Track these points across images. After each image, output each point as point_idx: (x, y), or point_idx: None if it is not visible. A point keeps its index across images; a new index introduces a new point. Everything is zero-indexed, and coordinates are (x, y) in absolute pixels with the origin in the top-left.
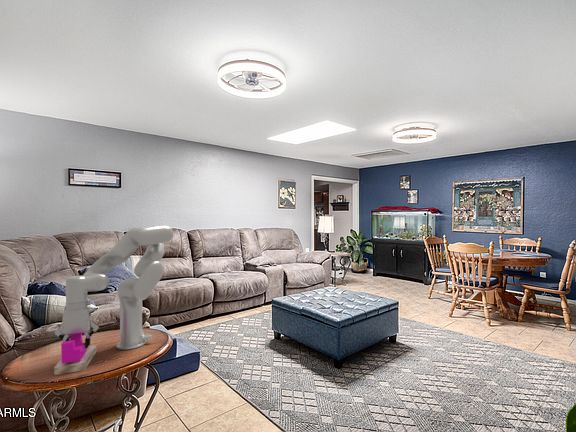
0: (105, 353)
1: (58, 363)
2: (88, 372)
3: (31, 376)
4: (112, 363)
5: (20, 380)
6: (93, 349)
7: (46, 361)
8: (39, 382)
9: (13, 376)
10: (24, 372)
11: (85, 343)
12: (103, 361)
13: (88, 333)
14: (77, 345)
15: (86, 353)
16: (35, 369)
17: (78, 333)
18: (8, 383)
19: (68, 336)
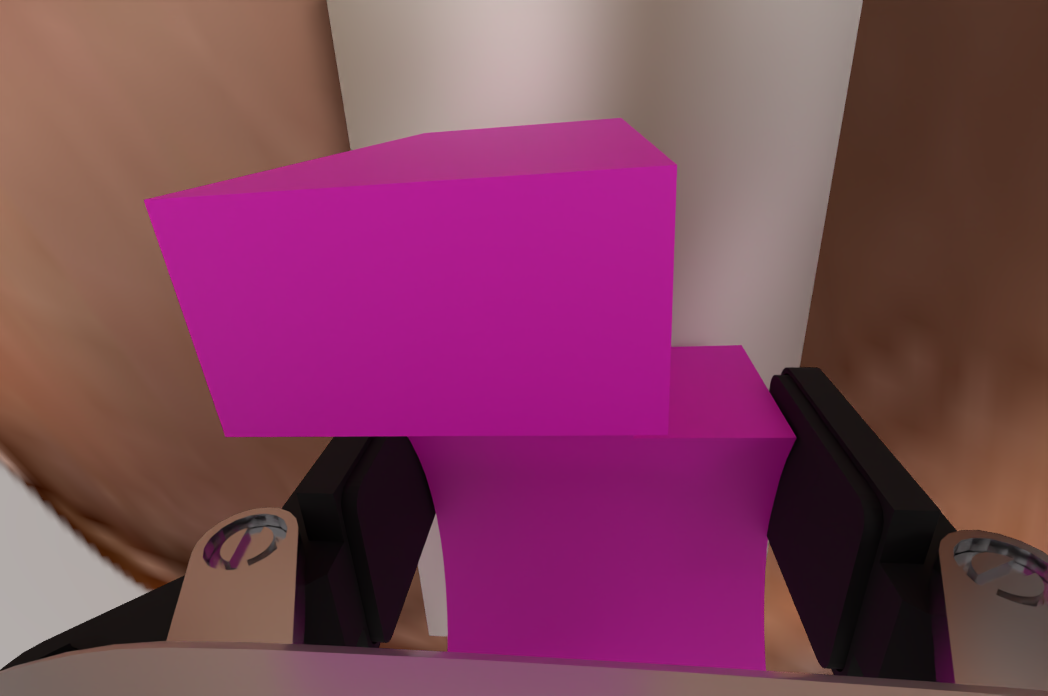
0: (991, 67)
1: (429, 558)
2: (775, 628)
3: (232, 511)
4: (1042, 517)
5: (186, 555)
6: (834, 158)
7: (104, 97)
8: (387, 647)
9: (41, 447)
10: (79, 388)
11: (794, 578)
12: (936, 414)
13: (1014, 681)
14: (598, 476)
15: (726, 339)
16: (148, 348)
17: (553, 416)
18: (121, 573)
19: (302, 618)
